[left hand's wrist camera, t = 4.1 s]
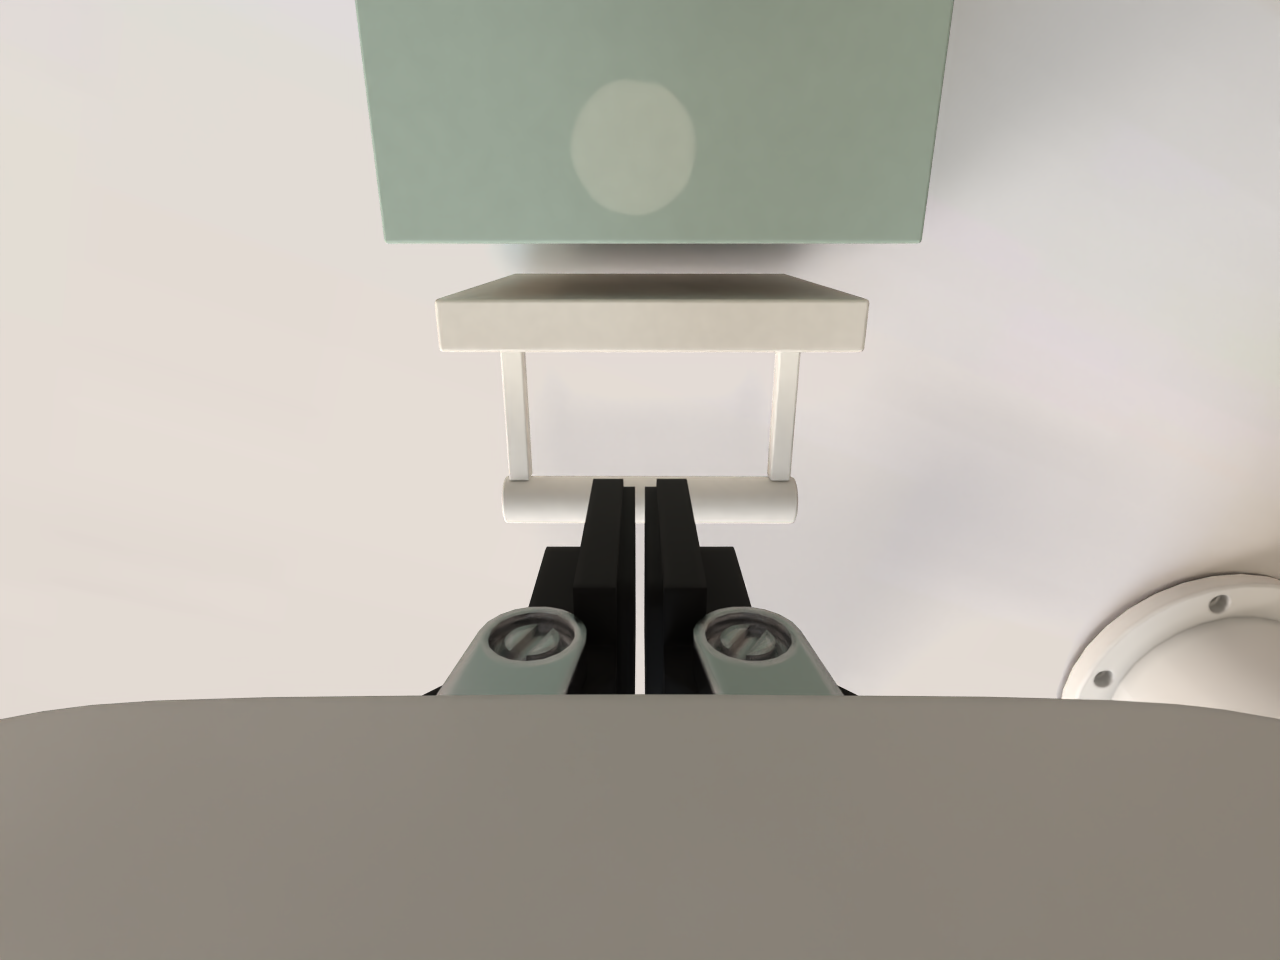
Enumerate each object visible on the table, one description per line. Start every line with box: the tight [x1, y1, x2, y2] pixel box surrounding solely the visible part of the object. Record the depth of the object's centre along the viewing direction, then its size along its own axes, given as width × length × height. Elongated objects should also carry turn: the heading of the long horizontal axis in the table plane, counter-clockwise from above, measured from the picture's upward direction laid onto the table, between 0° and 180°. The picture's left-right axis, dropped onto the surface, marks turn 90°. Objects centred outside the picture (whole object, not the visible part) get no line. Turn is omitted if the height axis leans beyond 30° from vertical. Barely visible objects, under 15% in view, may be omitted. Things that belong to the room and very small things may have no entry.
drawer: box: [435, 274, 869, 524], centre depth 19 cm, size 21×10×10 cm, turn 0°
